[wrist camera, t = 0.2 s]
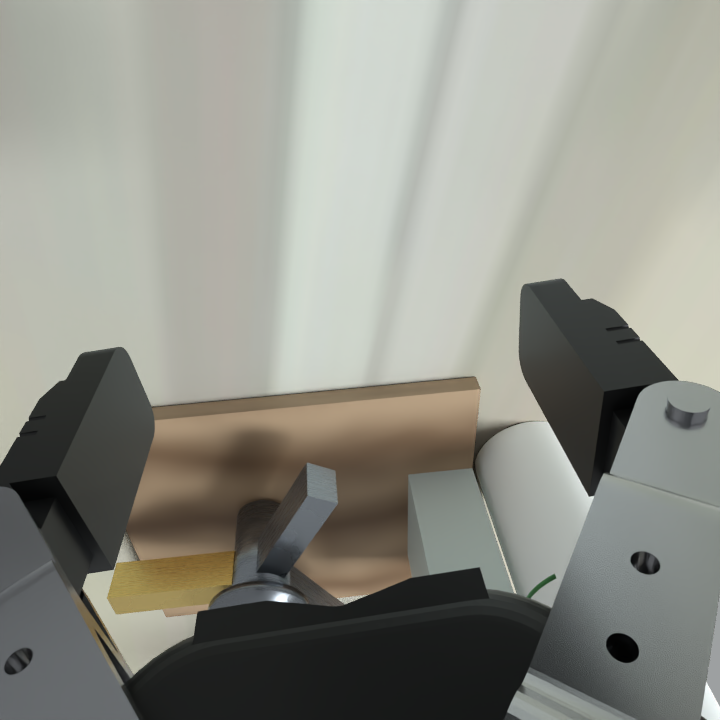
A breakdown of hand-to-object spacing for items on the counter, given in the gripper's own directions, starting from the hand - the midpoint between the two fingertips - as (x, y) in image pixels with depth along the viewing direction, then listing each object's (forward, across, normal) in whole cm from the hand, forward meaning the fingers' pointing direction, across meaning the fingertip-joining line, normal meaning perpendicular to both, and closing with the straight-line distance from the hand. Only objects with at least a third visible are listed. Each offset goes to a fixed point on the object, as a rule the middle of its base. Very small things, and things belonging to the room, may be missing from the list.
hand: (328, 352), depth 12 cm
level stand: (+18, -4, +27) cm, 33 cm away
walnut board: (+19, +5, +25) cm, 32 cm away
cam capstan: (+17, +10, +24) cm, 31 cm away
